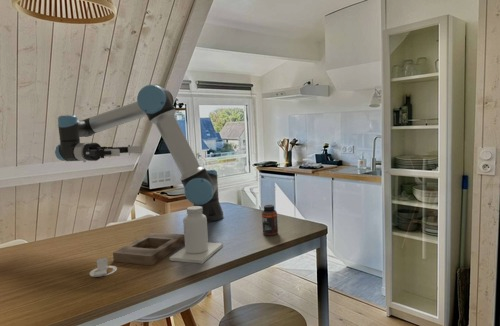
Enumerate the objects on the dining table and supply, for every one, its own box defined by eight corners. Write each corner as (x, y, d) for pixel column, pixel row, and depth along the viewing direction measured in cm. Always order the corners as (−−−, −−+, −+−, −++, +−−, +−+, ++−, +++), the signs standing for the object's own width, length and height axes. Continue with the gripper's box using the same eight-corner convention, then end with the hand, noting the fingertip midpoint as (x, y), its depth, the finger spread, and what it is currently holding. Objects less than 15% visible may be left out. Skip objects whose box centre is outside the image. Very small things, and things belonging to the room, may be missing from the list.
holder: (152, 239, 136) (152, 232, 136) (186, 242, 131) (185, 234, 131) (113, 261, 116) (112, 252, 115) (151, 265, 111) (150, 256, 110)
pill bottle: (213, 248, 121) (210, 205, 119) (198, 256, 114) (195, 211, 112) (195, 244, 125) (193, 204, 123) (180, 252, 118) (177, 209, 117)
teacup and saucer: (102, 280, 102) (101, 267, 102) (81, 277, 105) (80, 264, 104) (122, 268, 110) (121, 256, 110) (102, 266, 113) (101, 254, 113)
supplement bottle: (278, 231, 139) (277, 203, 138) (277, 236, 133) (276, 207, 132) (263, 231, 140) (262, 204, 139) (262, 236, 134) (261, 207, 133)
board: (193, 243, 129) (193, 241, 129) (222, 246, 125) (222, 243, 125) (169, 260, 114) (169, 257, 114) (202, 263, 110) (202, 260, 110)
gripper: (110, 157, 157) (150, 156, 150) (65, 164, 134) (109, 164, 127) (109, 141, 157) (148, 139, 149) (63, 145, 133) (107, 143, 126)
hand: (130, 150), depth 138 cm, fingers open, 13 cm apart
